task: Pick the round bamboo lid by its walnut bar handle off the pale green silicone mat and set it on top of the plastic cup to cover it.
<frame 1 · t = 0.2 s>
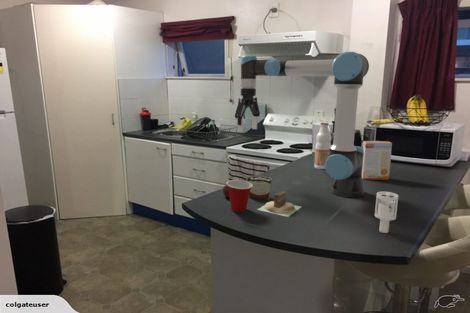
hand: (247, 130, 185), 28 cm above the counter, tool pointing down, fingers open, 13 cm apart
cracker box: (374, 178, 202), on the counter
white stepped cylinder: (383, 231, 131), on the counter
fruit juice: (321, 168, 226), on the counter
lid: (279, 208, 152), point 1 cm above the counter, touching mat
mat: (279, 209, 152), on the counter
plastic cup: (239, 211, 150), on the counter
potato: (232, 198, 167), on the counter
food container: (260, 198, 167), on the counter
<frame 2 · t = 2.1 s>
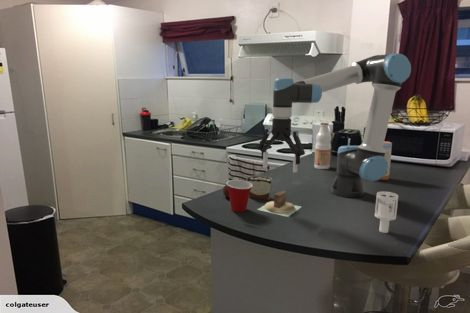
hand: (279, 169, 149), 17 cm above the counter, tool pointing down, fingers open, 13 cm apart
nothing on the counter moved.
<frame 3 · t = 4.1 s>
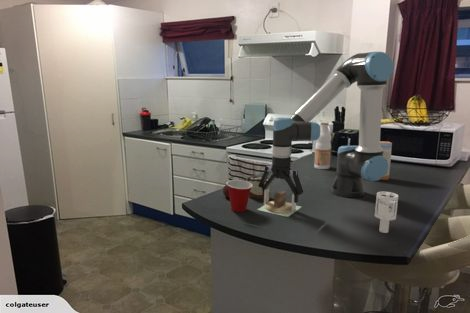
hand: (279, 206, 151), 1 cm above the counter, tool pointing down, fingers closed on lid, 12 cm apart
lid: (279, 208, 152), point 1 cm above the counter, touching gripper, mat
everything else where it was.
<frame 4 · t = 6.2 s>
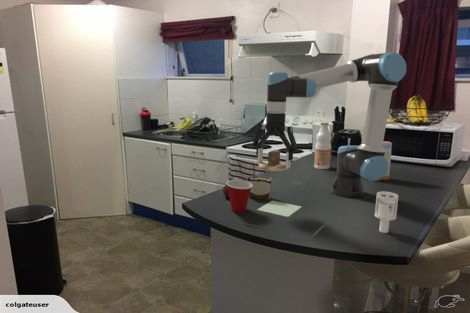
hand: (273, 165, 147), 19 cm above the counter, tool pointing down, fingers closed on lid, 12 cm apart
lid: (273, 167, 147), point 18 cm above the counter, touching gripper
everything else where it was.
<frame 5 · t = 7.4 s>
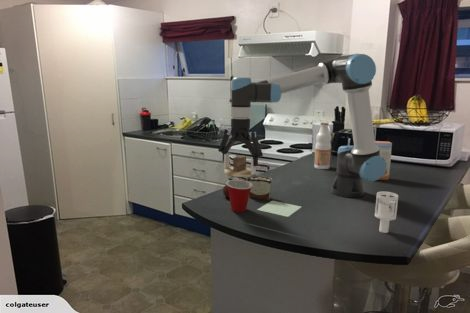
hand: (239, 171, 146), 17 cm above the counter, tool pointing down, fingers closed on lid, 12 cm apart
lid: (239, 173, 146), point 16 cm above the counter, touching gripper
everything else where it was.
when the fingers open (14 cm above the counter, at t = 8.5 s): lid drops 1 cm, resting on plastic cup.
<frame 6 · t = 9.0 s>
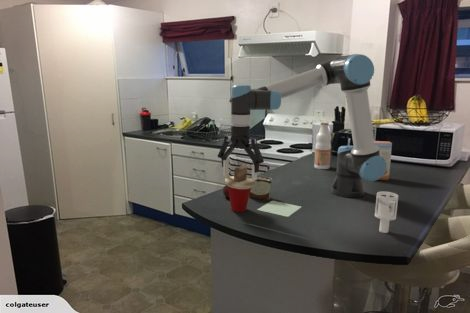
hand: (239, 177, 147), 14 cm above the counter, tool pointing down, fingers open, 13 cm apart
lid: (239, 183, 147), point 12 cm above the counter, touching plastic cup
plastic cup: (239, 211, 150), on the counter, touching lid
everything else where it was.
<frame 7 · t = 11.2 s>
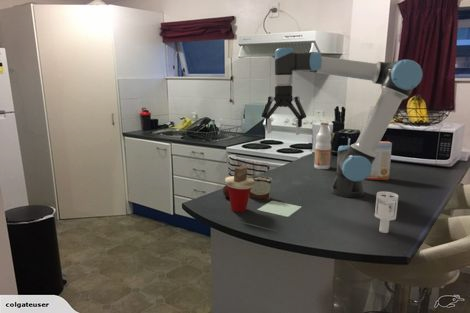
hand: (283, 133, 161), 30 cm above the counter, tool pointing down, fingers open, 13 cm apart
nothing on the counter moved.
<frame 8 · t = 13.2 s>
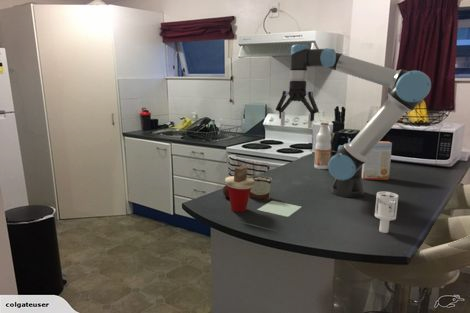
hand: (295, 127, 168), 32 cm above the counter, tool pointing down, fingers open, 13 cm apart
nothing on the counter moved.
at the end: lid 0.1 cm from the plastic cup (horizontally); lid point 11.9 cm above the counter; plastic cup tilted 0° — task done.
